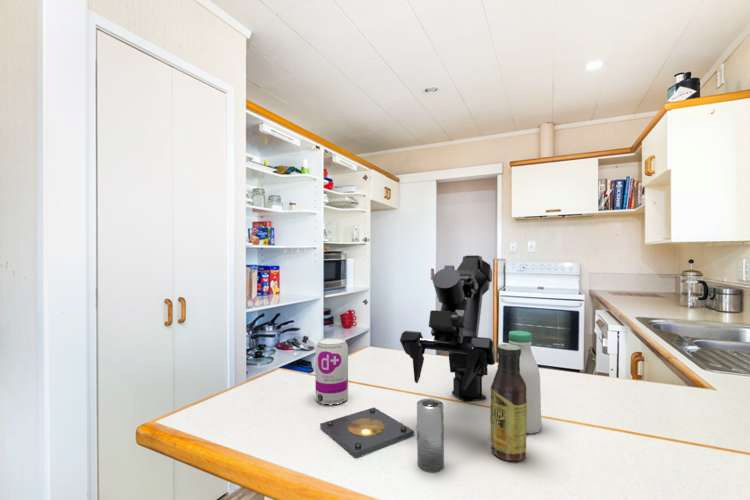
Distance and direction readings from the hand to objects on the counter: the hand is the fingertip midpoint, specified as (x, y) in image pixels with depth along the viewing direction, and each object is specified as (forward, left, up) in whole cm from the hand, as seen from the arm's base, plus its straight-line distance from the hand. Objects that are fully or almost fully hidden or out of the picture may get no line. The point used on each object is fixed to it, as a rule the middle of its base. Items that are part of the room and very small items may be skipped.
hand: (438, 385), depth 68 cm
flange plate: (+11, -11, -12) cm, 20 cm away
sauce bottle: (-11, +6, -12) cm, 17 cm away
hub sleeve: (+4, +4, -12) cm, 13 cm away
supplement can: (+14, -30, -12) cm, 35 cm away
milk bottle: (-21, -2, -12) cm, 24 cm away
